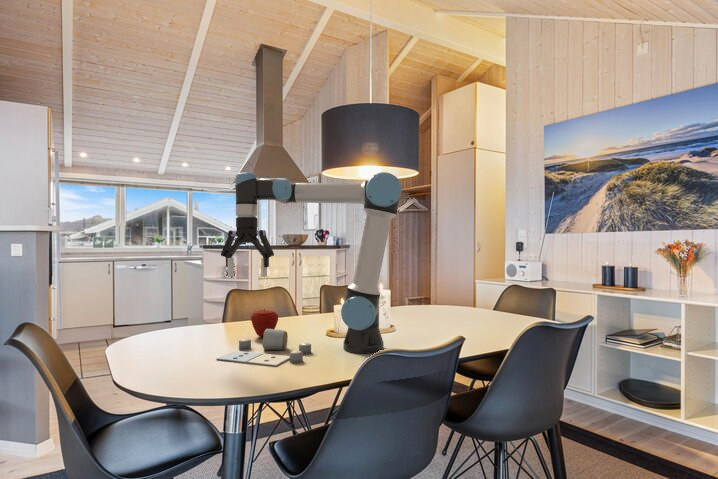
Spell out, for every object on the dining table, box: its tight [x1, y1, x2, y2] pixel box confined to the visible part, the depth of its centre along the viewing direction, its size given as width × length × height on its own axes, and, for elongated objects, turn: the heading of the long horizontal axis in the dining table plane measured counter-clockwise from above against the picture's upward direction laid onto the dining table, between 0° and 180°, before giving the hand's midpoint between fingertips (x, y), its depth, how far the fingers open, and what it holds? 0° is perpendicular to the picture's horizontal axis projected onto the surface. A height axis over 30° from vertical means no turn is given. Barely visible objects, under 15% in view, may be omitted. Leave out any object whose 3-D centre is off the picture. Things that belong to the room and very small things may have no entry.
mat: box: [216, 350, 290, 368], centre depth 152 cm, size 23×12×1 cm, turn 71°
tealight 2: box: [289, 350, 304, 364], centre depth 150 cm, size 4×4×3 cm
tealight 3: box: [298, 342, 312, 355], centre depth 161 cm, size 4×4×3 cm
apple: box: [250, 308, 279, 339], centre depth 186 cm, size 11×11×12 cm
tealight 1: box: [238, 338, 252, 351], centre depth 167 cm, size 4×4×3 cm
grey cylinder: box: [262, 328, 289, 351], centre depth 167 cm, size 11×8×8 cm
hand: (247, 276), depth 158 cm, fingers open, 13 cm apart
